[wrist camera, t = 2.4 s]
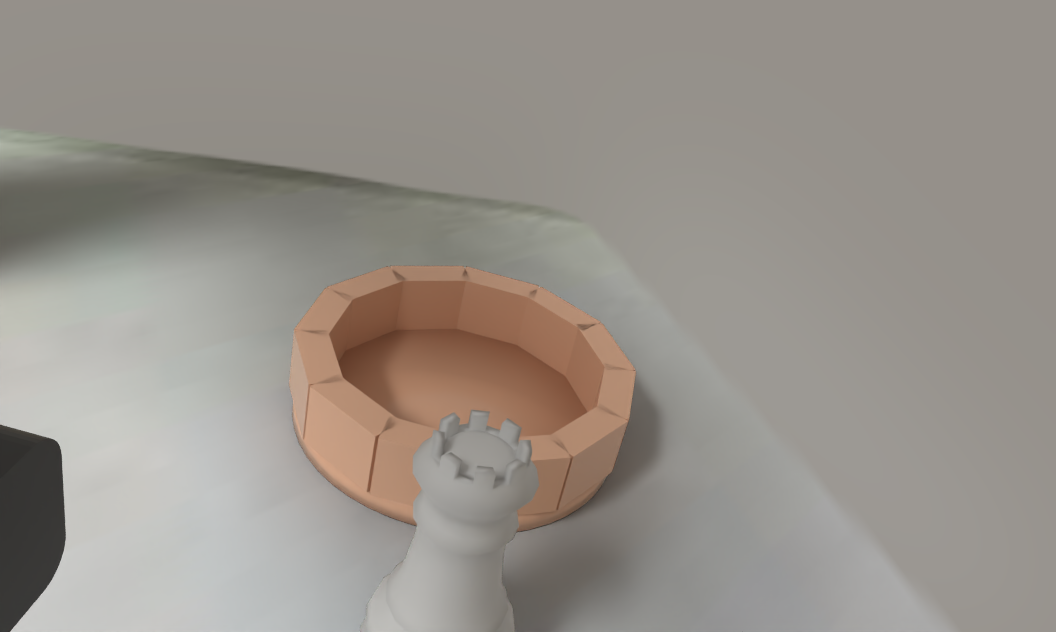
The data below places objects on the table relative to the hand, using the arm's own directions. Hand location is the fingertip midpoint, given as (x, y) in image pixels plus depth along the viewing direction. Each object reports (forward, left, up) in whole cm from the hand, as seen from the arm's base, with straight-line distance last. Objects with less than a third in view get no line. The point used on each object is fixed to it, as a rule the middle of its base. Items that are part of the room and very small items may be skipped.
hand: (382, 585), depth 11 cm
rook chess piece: (0, +11, -15) cm, 19 cm away
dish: (-2, +22, -14) cm, 27 cm away
